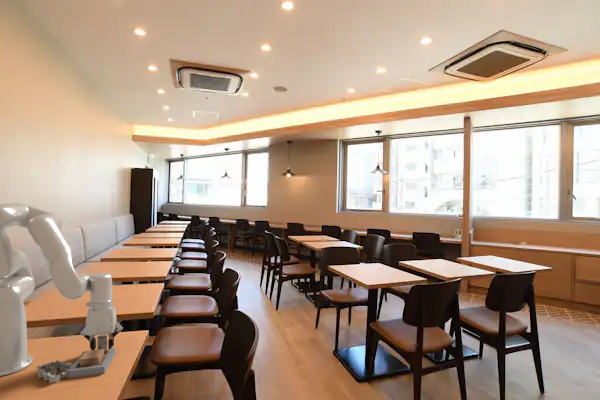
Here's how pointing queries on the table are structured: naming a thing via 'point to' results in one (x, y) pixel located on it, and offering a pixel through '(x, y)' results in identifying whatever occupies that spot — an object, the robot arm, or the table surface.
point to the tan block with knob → (95, 353)
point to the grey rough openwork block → (54, 371)
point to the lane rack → (91, 370)
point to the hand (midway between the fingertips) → (102, 348)
